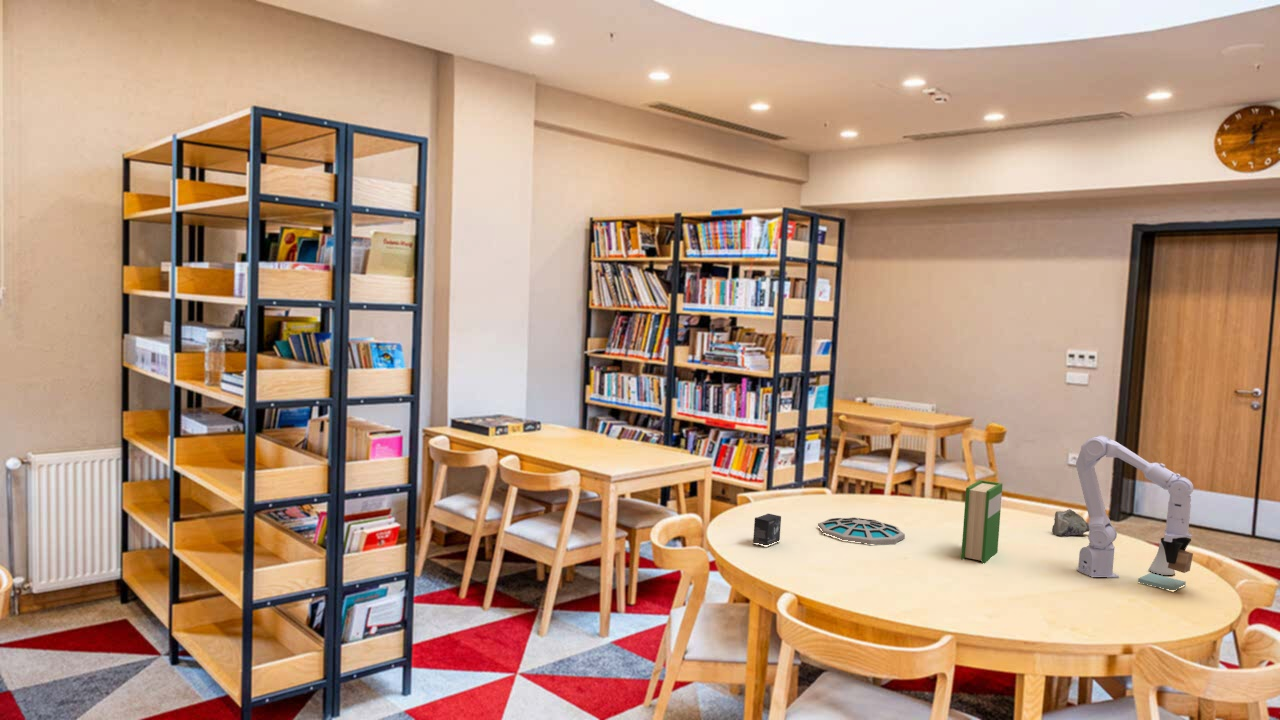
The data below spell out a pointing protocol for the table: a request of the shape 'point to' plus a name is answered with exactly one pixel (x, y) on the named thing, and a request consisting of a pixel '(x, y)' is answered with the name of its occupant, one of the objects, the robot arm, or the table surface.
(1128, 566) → the table surface
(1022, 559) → the table surface
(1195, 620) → the table surface
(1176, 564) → the walnut block
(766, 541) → the box
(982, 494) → the hardback book
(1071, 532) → the mineral rock
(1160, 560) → the flask
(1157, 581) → the base board
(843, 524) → the grey teal dome window
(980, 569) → the table surface
